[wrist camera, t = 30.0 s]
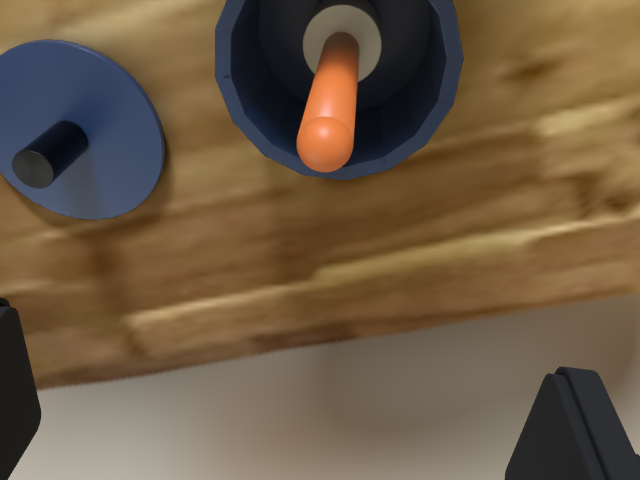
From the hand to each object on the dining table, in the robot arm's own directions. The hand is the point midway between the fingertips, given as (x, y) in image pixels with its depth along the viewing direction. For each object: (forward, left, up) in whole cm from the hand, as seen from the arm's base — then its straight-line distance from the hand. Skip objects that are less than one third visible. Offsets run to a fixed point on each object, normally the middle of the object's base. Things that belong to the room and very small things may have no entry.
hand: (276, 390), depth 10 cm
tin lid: (+9, -18, -30) cm, 36 cm away
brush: (0, 0, -30) cm, 30 cm away
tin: (0, 0, -30) cm, 30 cm away
